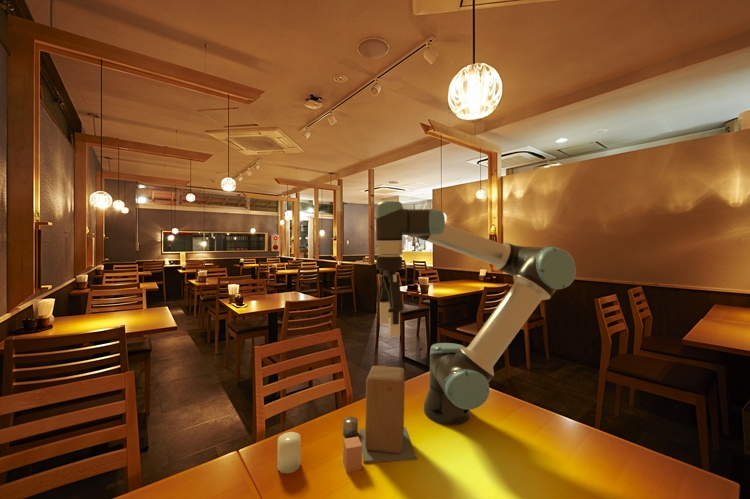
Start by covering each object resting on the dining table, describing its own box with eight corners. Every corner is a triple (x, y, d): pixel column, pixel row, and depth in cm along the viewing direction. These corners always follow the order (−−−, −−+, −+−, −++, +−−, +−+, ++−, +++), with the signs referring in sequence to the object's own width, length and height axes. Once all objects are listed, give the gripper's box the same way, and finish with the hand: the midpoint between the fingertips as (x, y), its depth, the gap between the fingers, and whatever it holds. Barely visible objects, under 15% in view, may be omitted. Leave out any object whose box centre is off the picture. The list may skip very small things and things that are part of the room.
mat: (405, 428, 98) (405, 426, 98) (416, 459, 84) (416, 457, 84) (359, 431, 96) (359, 429, 96) (363, 463, 82) (363, 460, 82)
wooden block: (401, 455, 85) (402, 380, 84) (364, 451, 86) (365, 377, 86) (403, 433, 94) (405, 366, 94) (370, 430, 96) (371, 364, 96)
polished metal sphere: (357, 429, 98) (357, 416, 97) (358, 437, 93) (358, 424, 93) (342, 429, 97) (342, 416, 97) (343, 438, 93) (343, 425, 93)
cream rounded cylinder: (301, 457, 84) (301, 431, 84) (298, 472, 79) (299, 444, 78) (279, 459, 83) (279, 432, 83) (275, 474, 78) (275, 446, 78)
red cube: (357, 459, 84) (358, 436, 84) (361, 469, 80) (362, 445, 80) (342, 461, 83) (343, 438, 83) (346, 472, 79) (346, 448, 79)
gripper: (369, 254, 104) (369, 319, 104) (385, 257, 79) (385, 342, 79) (392, 254, 105) (392, 318, 105) (414, 257, 80) (414, 341, 81)
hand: (389, 329), depth 92 cm, fingers open, 13 cm apart
